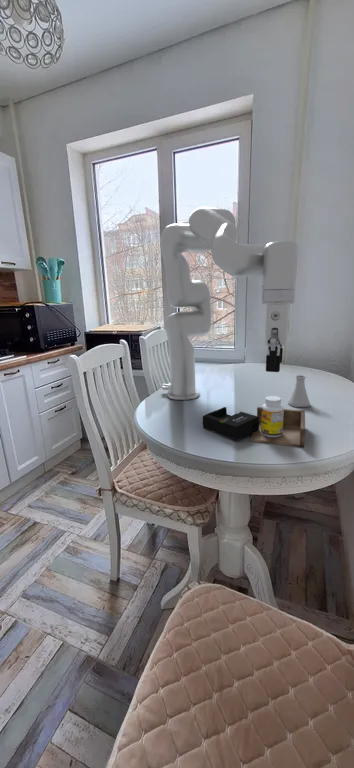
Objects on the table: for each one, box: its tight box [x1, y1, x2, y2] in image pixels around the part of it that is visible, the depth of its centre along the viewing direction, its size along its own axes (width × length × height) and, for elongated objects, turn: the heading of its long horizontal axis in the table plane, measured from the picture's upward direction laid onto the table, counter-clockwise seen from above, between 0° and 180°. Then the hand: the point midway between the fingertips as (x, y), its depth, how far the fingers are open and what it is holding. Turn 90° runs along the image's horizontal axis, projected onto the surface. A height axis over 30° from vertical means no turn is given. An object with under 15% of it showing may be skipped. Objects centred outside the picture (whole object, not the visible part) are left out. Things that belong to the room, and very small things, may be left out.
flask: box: [288, 374, 311, 408], centre depth 108 cm, size 7×7×10 cm
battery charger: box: [202, 406, 259, 442], centre depth 90 cm, size 13×10×4 cm
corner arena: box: [250, 406, 306, 448], centre depth 87 cm, size 13×13×5 cm
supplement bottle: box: [261, 395, 285, 437], centre depth 85 cm, size 6×6×10 cm
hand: (274, 366), depth 81 cm, fingers open, 9 cm apart
